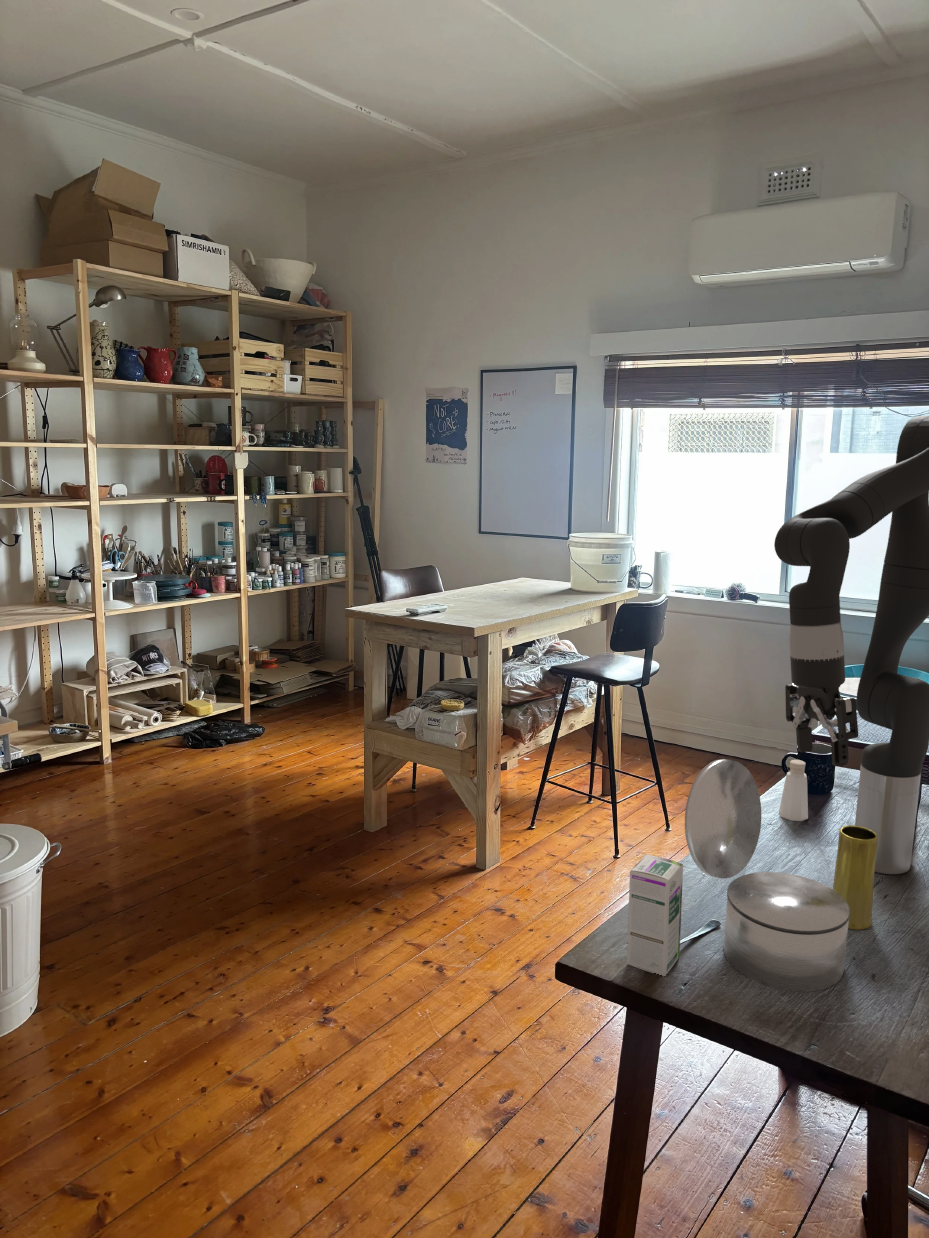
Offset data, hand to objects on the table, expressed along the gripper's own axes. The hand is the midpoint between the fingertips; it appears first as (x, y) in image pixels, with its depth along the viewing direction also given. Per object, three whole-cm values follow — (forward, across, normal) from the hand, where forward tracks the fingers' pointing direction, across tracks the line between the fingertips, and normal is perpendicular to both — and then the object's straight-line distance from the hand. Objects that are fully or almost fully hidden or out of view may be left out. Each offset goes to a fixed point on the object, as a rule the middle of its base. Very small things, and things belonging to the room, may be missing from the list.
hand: (822, 757), depth 137 cm
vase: (+25, -3, -1) cm, 25 cm away
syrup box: (+23, -6, +32) cm, 40 cm away
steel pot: (+24, -9, +14) cm, 30 cm away
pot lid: (+6, -2, +17) cm, 18 cm away
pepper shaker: (+23, +33, -16) cm, 43 cm away
